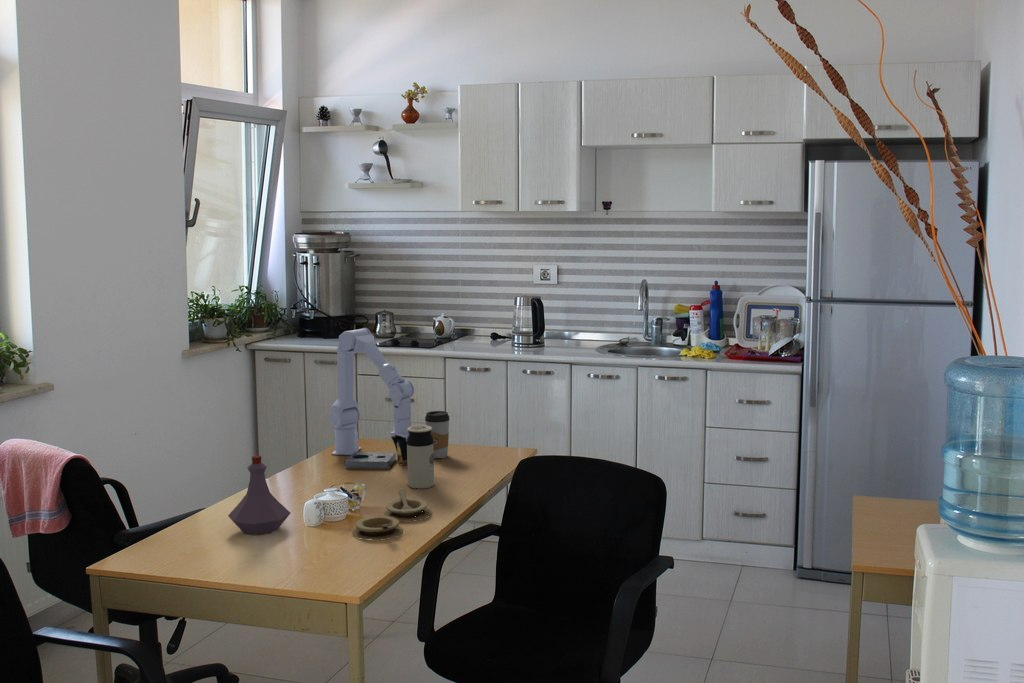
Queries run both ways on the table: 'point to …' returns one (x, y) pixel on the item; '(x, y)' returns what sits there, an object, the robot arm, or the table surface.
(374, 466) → the block
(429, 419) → the coffee cup
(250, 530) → the flask
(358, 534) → the tableware set
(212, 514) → the table surface
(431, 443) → the travel mug
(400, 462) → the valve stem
